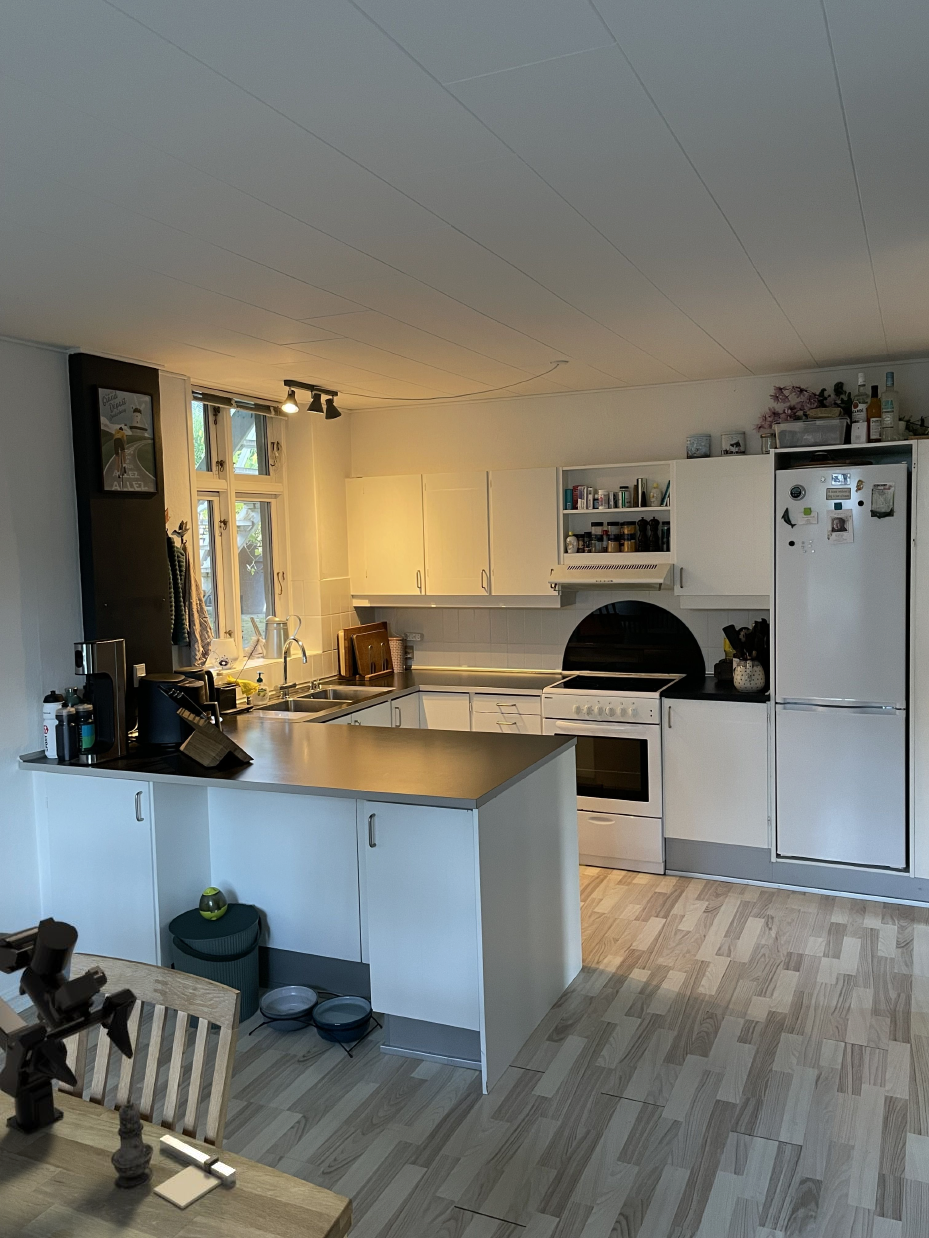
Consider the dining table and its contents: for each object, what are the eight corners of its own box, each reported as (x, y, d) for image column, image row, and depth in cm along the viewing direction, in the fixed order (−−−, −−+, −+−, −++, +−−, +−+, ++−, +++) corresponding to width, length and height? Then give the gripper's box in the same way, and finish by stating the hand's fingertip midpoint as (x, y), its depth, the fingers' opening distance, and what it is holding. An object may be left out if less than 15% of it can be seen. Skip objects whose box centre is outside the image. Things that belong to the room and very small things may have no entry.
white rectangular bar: (158, 1148, 149) (157, 1136, 149) (169, 1142, 151) (168, 1130, 150) (226, 1185, 139) (226, 1172, 139) (237, 1178, 141) (236, 1165, 141)
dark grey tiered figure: (103, 1184, 141) (97, 1104, 140) (134, 1161, 146) (129, 1083, 145) (133, 1195, 138) (127, 1113, 137) (163, 1171, 143) (158, 1092, 143)
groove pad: (153, 1191, 139) (153, 1188, 139) (192, 1167, 144) (192, 1164, 144) (182, 1208, 135) (182, 1205, 135) (221, 1182, 140) (220, 1180, 140)
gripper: (5, 980, 142) (58, 1062, 134) (119, 936, 156) (172, 1008, 149) (-12, 1031, 146) (39, 1114, 138) (101, 984, 161) (152, 1056, 153)
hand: (104, 1070), depth 145 cm, fingers open, 9 cm apart
